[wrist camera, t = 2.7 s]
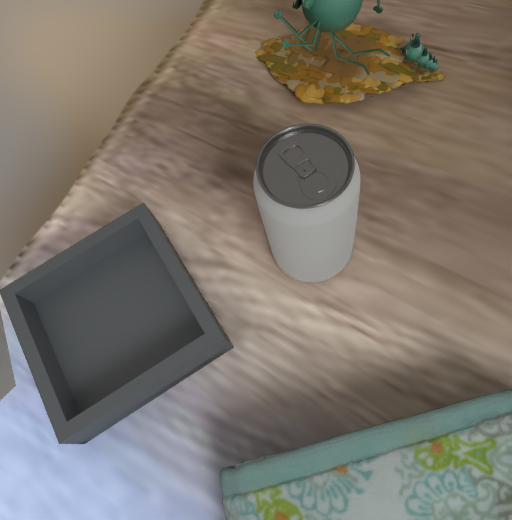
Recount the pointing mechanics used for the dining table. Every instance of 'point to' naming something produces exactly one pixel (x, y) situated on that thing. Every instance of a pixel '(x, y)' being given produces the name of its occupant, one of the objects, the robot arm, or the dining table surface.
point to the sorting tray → (111, 325)
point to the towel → (388, 471)
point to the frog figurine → (343, 55)
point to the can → (308, 200)
